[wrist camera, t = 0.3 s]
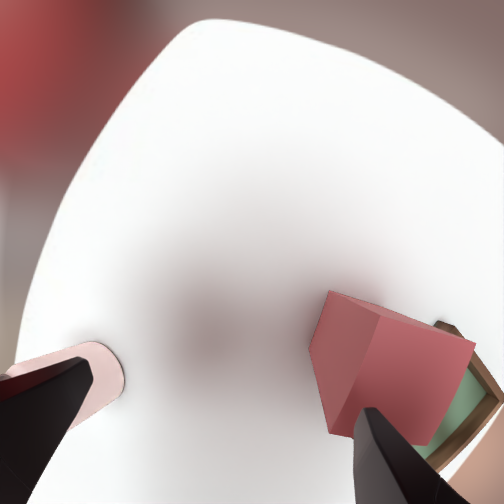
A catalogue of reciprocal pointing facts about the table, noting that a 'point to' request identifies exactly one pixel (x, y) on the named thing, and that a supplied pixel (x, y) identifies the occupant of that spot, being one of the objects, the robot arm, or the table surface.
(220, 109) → the table surface
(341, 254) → the table surface
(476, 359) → the box
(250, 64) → the table surface
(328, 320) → the post
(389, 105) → the table surface
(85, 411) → the can
